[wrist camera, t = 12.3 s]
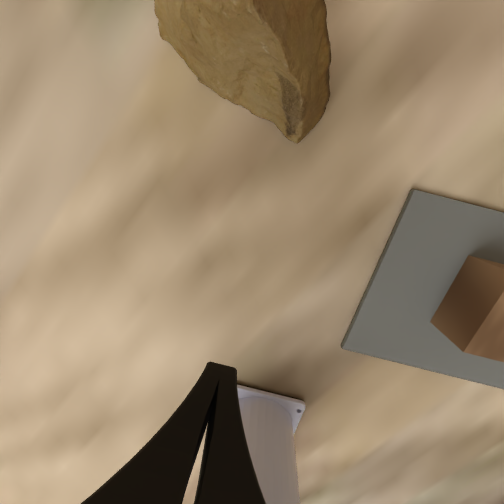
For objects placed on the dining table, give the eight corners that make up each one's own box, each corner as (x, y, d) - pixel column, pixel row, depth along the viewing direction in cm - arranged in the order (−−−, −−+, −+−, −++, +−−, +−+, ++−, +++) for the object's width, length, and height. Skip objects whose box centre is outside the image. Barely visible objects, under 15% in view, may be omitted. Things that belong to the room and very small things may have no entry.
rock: (384, 110, 13) (351, -160, 9) (327, 150, 8) (197, -426, 4) (247, 159, 21) (196, 19, 17) (170, 197, 15) (69, 5, 12)
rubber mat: (511, 388, 21) (515, 392, 21) (341, 345, 21) (342, 348, 21) (625, 244, 17) (633, 246, 17) (411, 189, 17) (414, 189, 16)
